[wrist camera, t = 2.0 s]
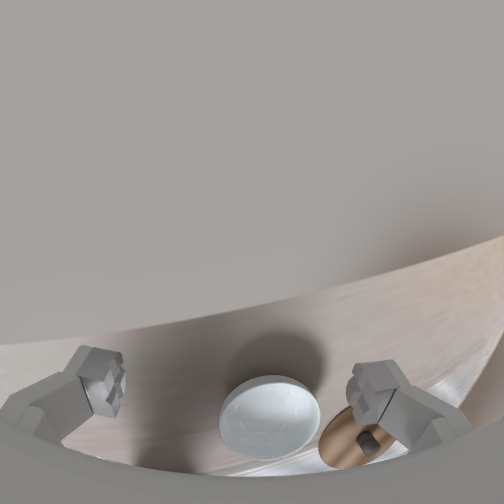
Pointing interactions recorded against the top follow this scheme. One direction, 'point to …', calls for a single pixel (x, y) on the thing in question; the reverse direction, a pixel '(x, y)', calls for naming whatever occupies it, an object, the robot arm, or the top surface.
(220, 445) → the top surface
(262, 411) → the cereal bowl
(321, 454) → the lid
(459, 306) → the top surface
